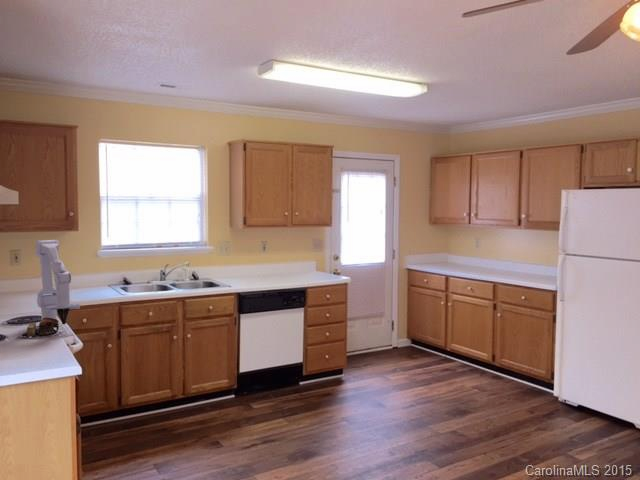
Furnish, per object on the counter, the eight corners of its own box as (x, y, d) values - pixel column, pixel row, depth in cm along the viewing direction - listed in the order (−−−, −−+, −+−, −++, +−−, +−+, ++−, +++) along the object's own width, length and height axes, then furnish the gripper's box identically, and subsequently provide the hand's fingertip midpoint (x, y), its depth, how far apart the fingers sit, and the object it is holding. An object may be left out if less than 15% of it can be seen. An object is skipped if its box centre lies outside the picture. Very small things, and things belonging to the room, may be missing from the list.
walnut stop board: (30, 330, 264) (30, 322, 264) (36, 330, 265) (35, 322, 264) (27, 336, 253) (26, 327, 252) (32, 335, 254) (32, 327, 253)
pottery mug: (31, 334, 260) (37, 317, 263) (50, 339, 266) (55, 323, 270) (43, 331, 253) (49, 314, 256) (62, 336, 259) (67, 320, 263)
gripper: (45, 298, 257) (46, 326, 257) (78, 296, 262) (79, 324, 263) (47, 296, 263) (48, 323, 264) (79, 294, 268) (80, 321, 269)
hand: (63, 323), depth 264 cm, fingers closed
